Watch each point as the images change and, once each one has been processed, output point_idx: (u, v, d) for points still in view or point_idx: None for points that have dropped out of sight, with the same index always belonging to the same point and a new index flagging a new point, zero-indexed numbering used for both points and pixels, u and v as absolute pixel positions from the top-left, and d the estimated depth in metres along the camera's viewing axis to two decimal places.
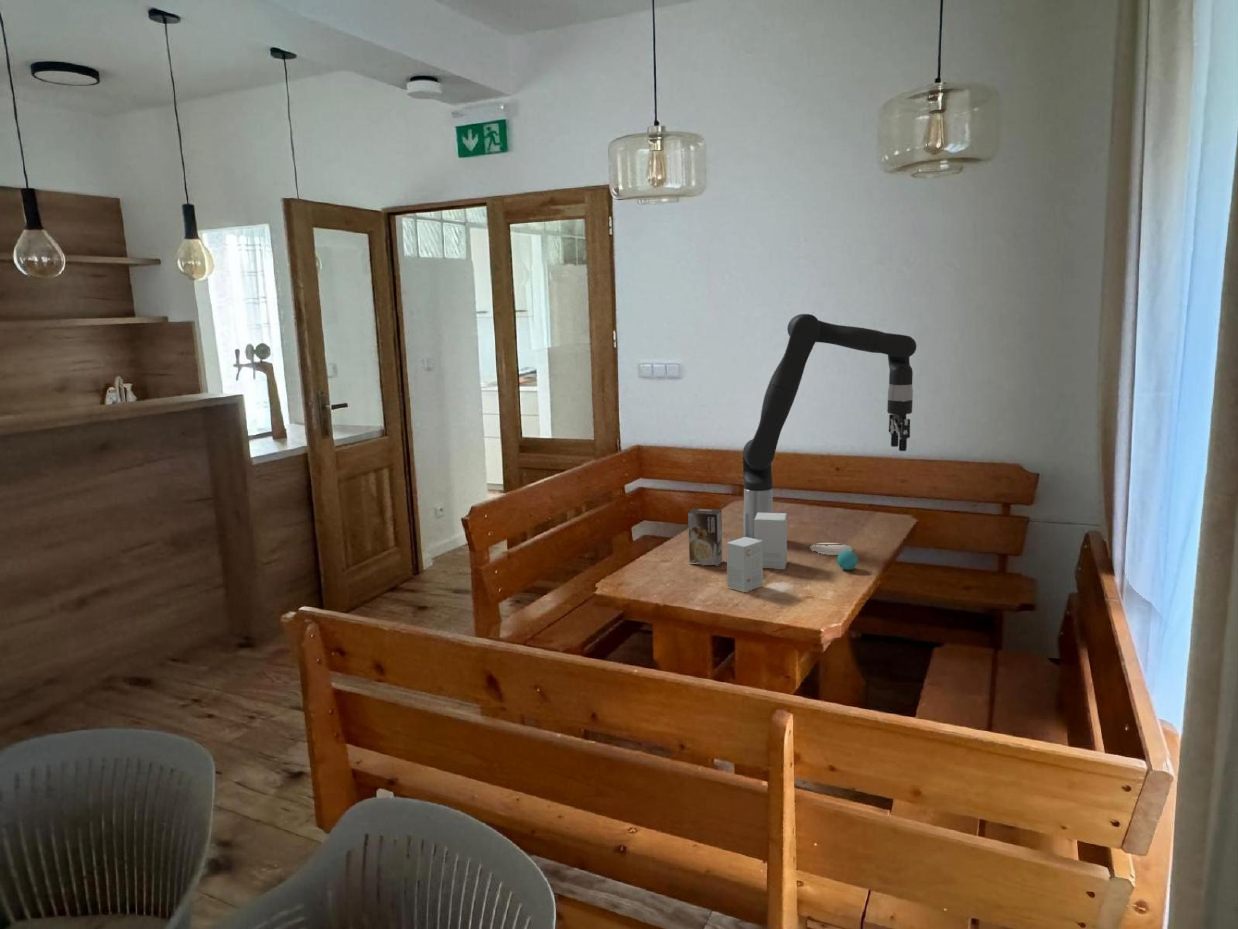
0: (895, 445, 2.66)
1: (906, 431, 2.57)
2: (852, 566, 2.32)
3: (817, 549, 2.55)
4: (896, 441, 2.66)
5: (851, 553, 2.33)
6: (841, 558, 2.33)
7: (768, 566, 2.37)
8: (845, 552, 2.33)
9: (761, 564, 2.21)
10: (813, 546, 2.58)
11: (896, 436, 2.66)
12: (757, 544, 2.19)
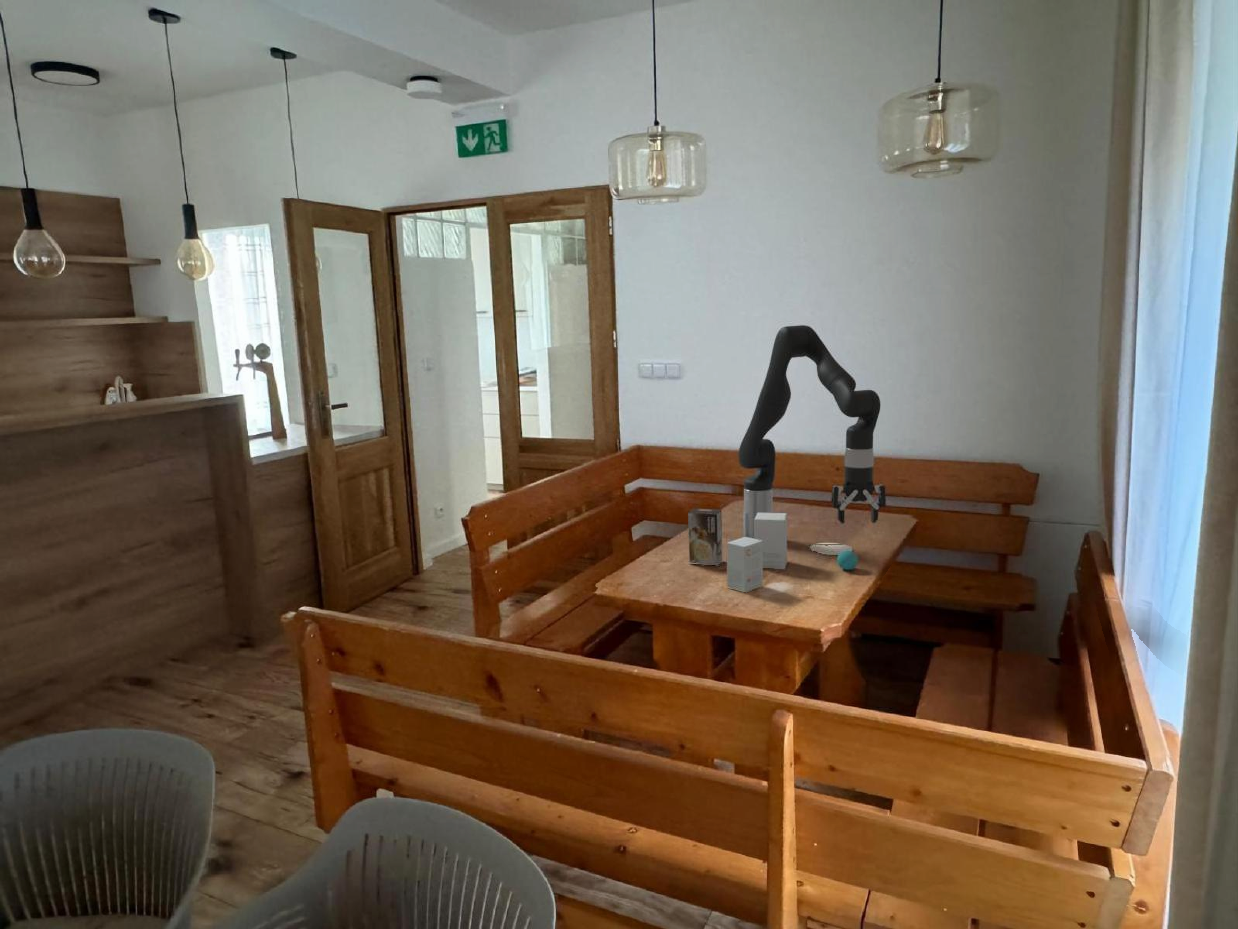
0: None
1: None
2: (852, 566, 2.32)
3: (817, 549, 2.55)
4: None
5: (851, 553, 2.33)
6: (841, 558, 2.33)
7: (768, 566, 2.37)
8: (845, 552, 2.33)
9: (761, 564, 2.21)
10: (813, 546, 2.58)
11: None
12: (757, 544, 2.19)
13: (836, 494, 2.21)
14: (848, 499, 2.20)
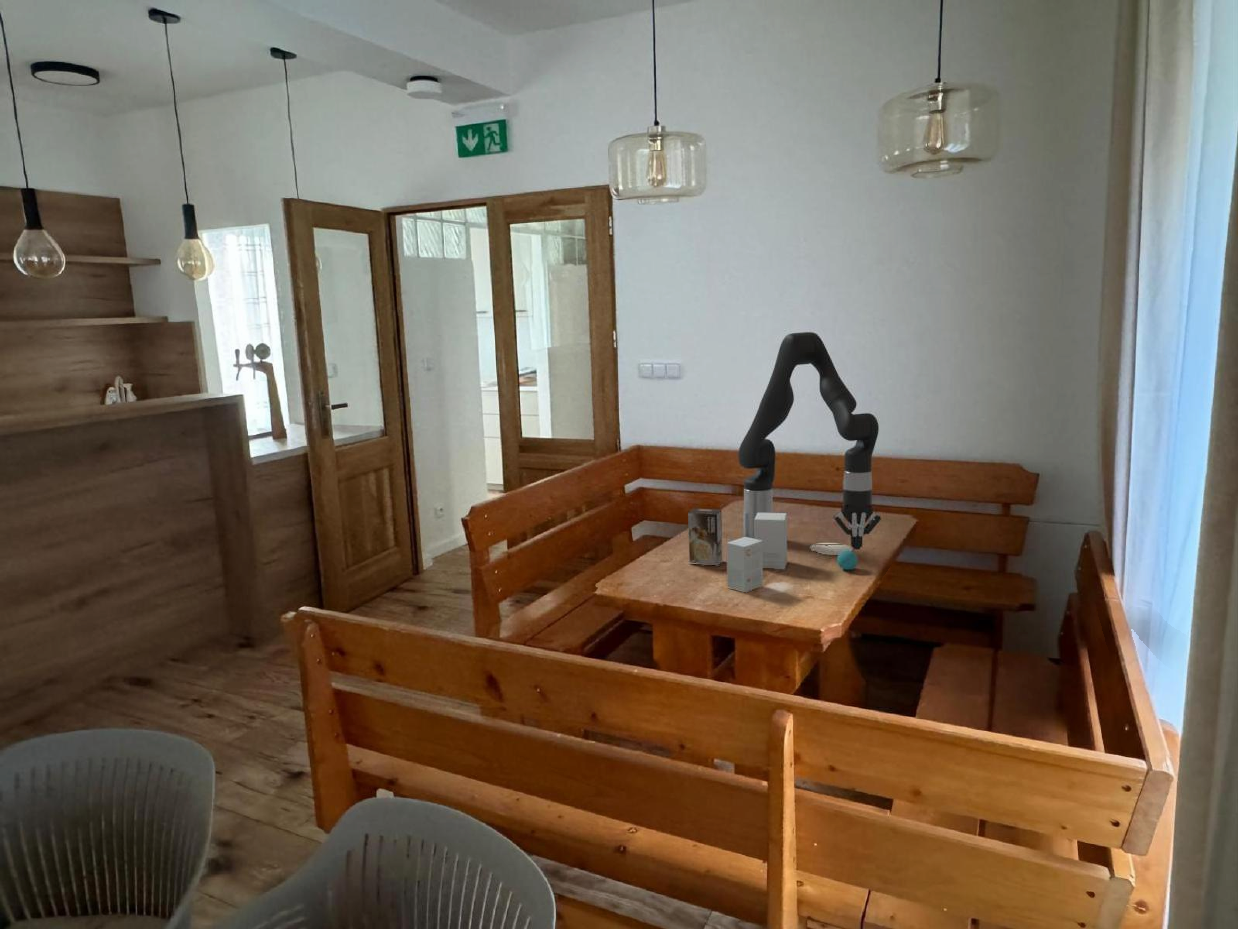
0: None
1: None
2: (852, 566, 2.32)
3: (817, 549, 2.55)
4: None
5: (851, 553, 2.33)
6: (841, 558, 2.33)
7: (768, 566, 2.37)
8: (845, 552, 2.33)
9: (761, 564, 2.21)
10: (813, 546, 2.58)
11: None
12: (757, 544, 2.19)
13: (841, 523, 2.22)
14: (853, 524, 2.21)
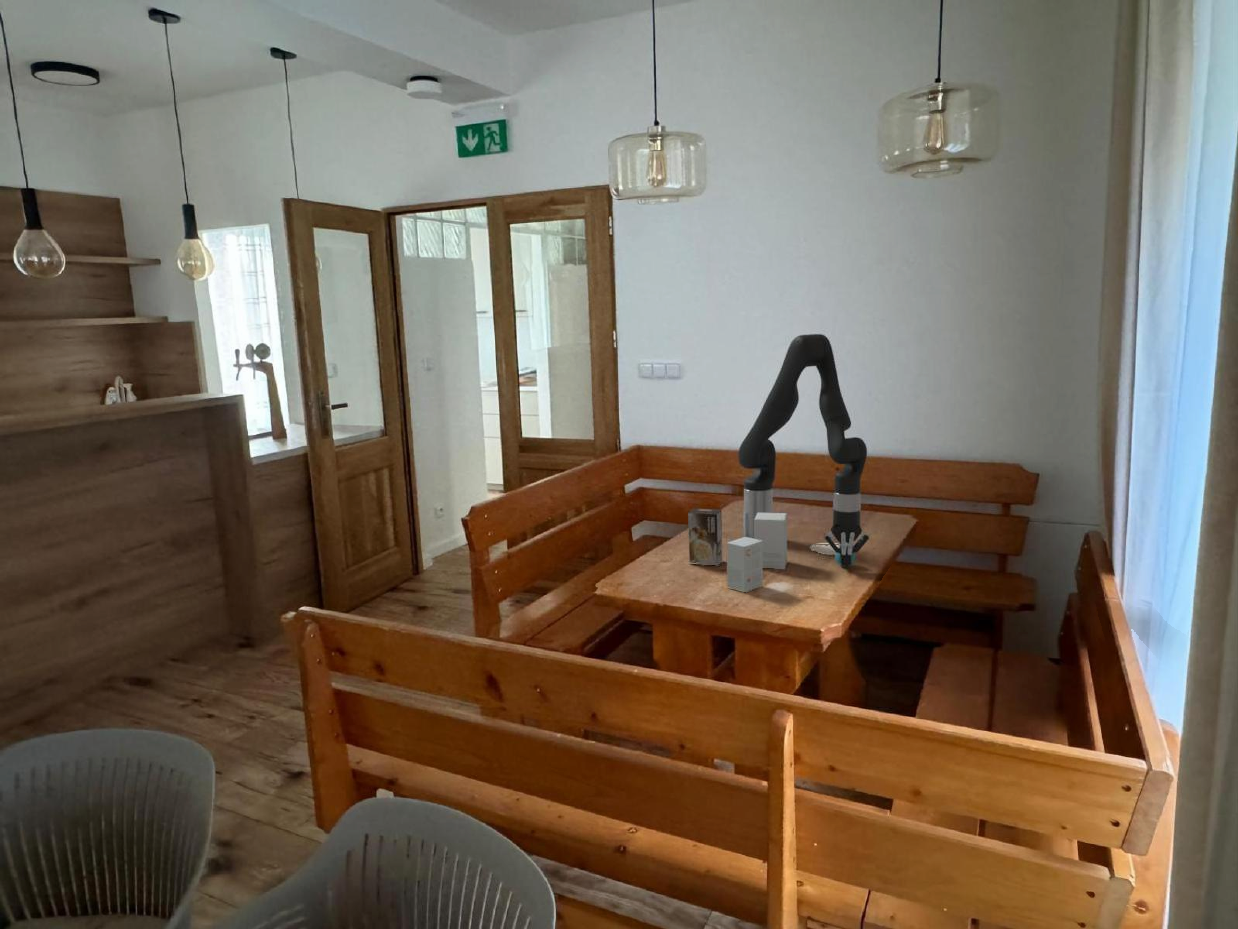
0: None
1: None
2: None
3: (817, 549, 2.55)
4: None
5: None
6: None
7: (768, 566, 2.37)
8: None
9: (761, 564, 2.21)
10: (813, 546, 2.58)
11: None
12: (757, 544, 2.19)
13: (830, 542, 2.32)
14: (842, 543, 2.31)
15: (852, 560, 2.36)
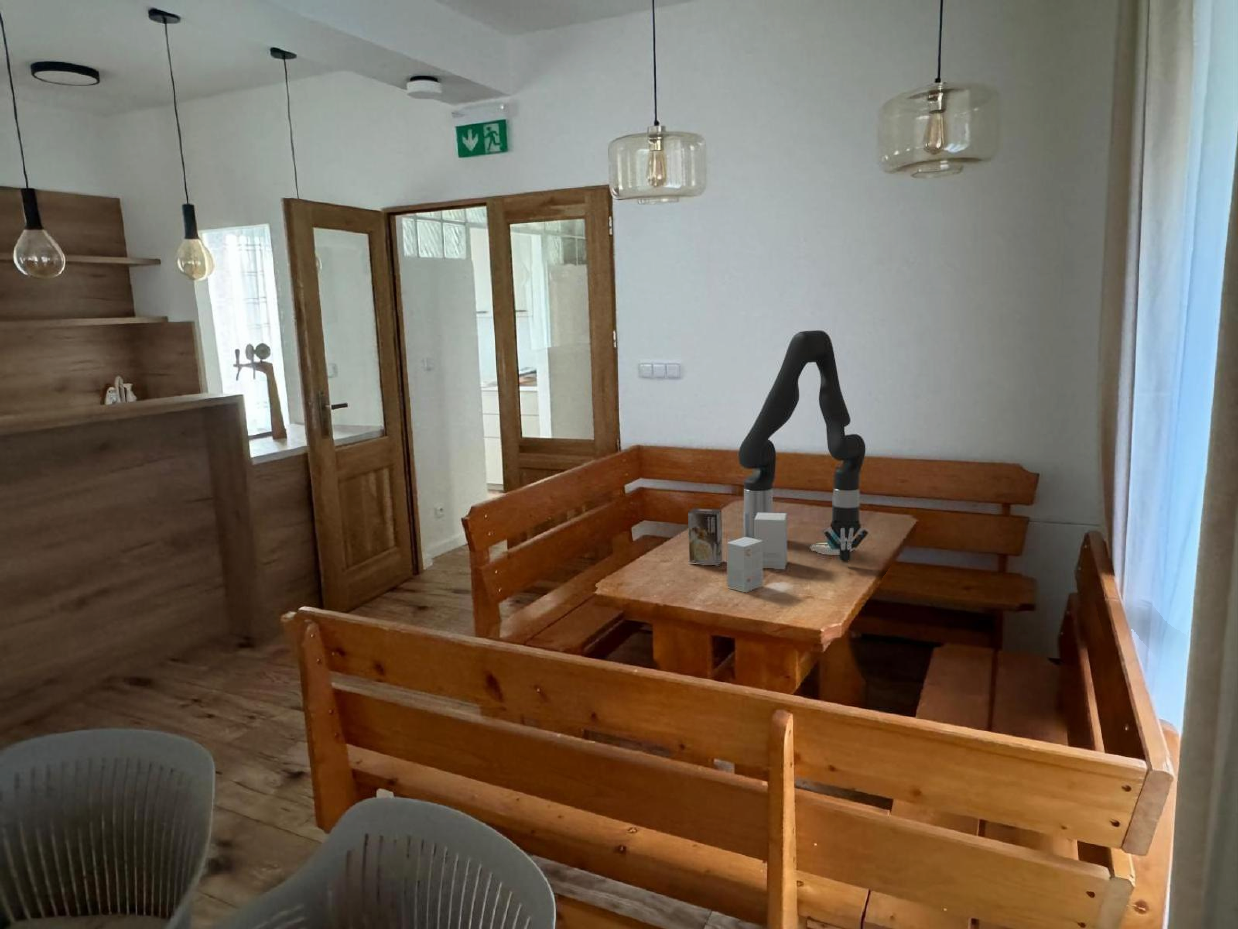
0: None
1: None
2: None
3: (817, 549, 2.55)
4: None
5: None
6: None
7: (768, 566, 2.37)
8: None
9: (761, 564, 2.21)
10: (813, 546, 2.58)
11: None
12: (757, 544, 2.19)
13: (830, 537, 2.35)
14: (842, 538, 2.35)
15: None
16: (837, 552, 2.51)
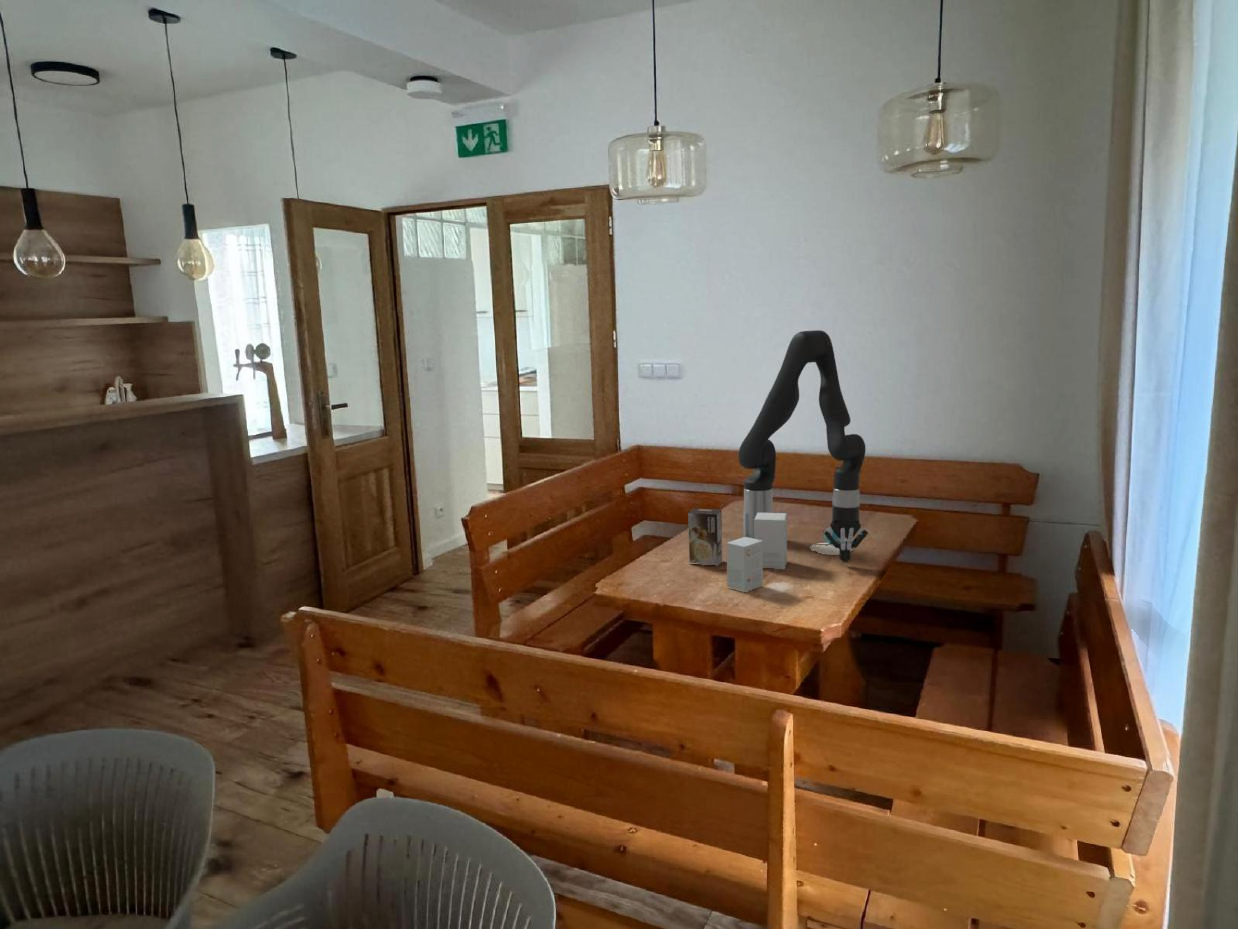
0: None
1: None
2: None
3: (817, 549, 2.55)
4: None
5: None
6: None
7: (768, 566, 2.37)
8: None
9: (761, 564, 2.21)
10: (813, 546, 2.58)
11: None
12: (757, 544, 2.19)
13: (830, 537, 2.35)
14: (842, 538, 2.35)
15: None
16: (837, 552, 2.51)
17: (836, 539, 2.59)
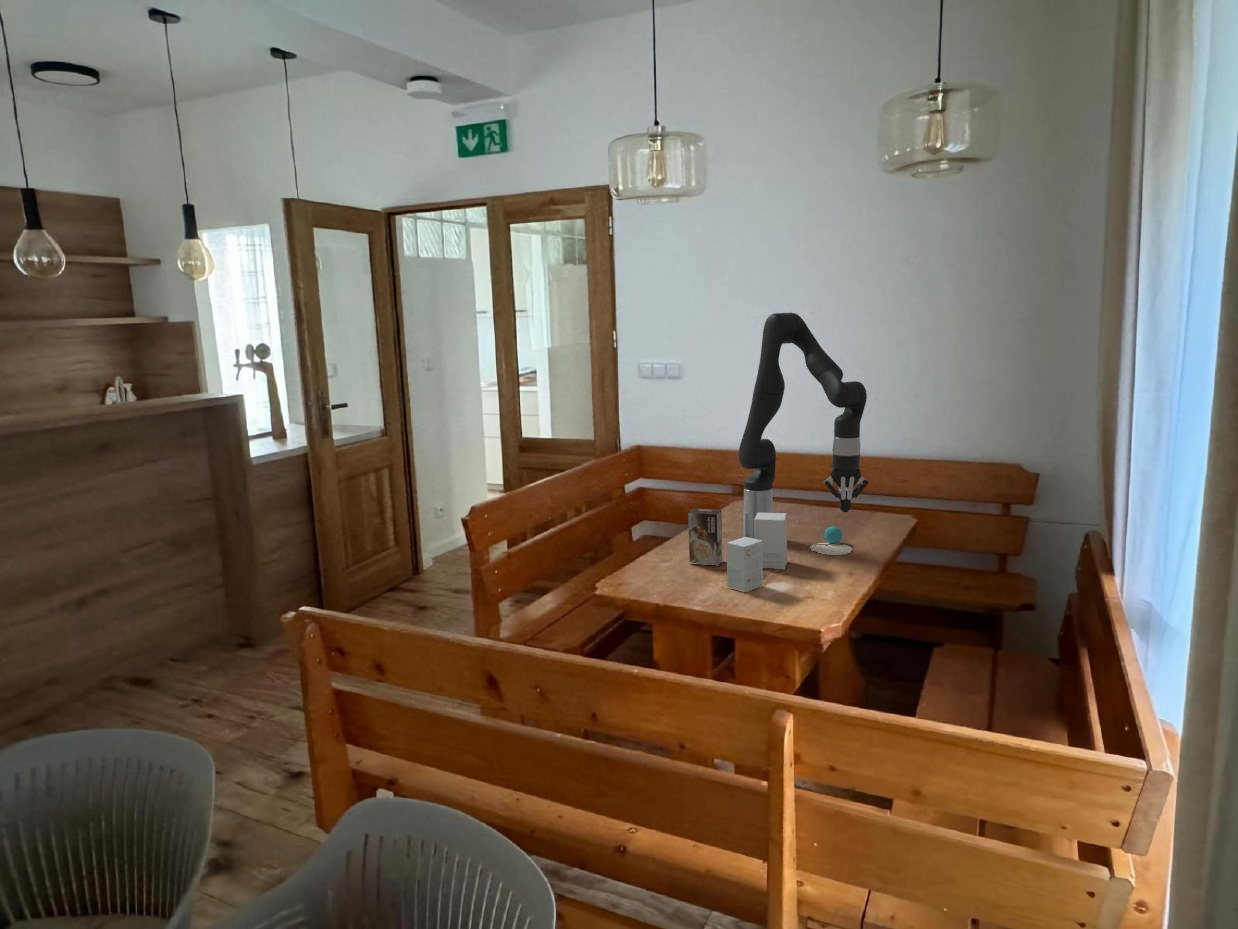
0: None
1: None
2: None
3: (817, 549, 2.55)
4: None
5: None
6: None
7: (768, 566, 2.37)
8: None
9: (761, 564, 2.21)
10: (813, 546, 2.58)
11: None
12: (757, 544, 2.19)
13: (830, 486, 2.32)
14: (842, 488, 2.31)
15: None
16: (837, 552, 2.51)
17: (836, 539, 2.59)
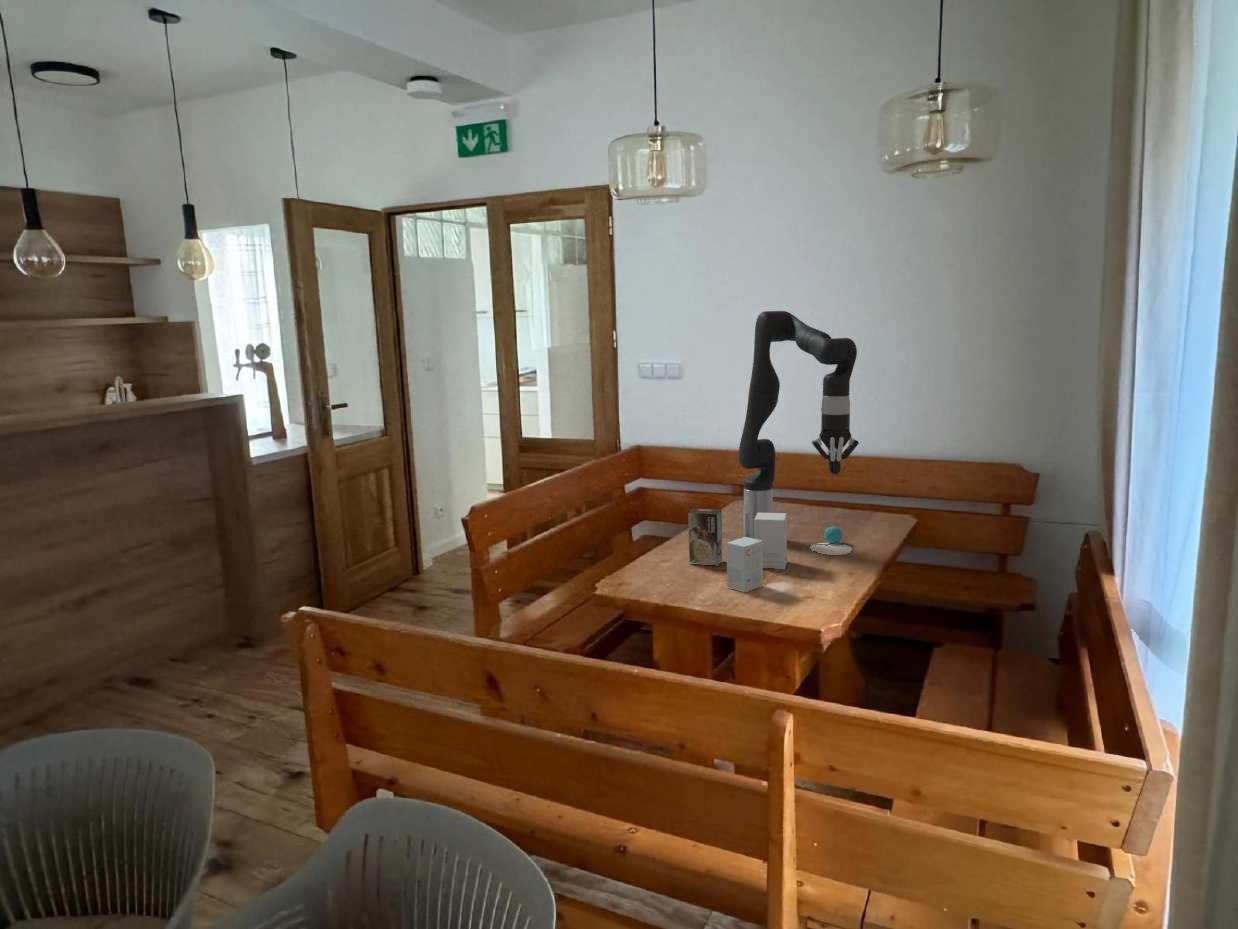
0: None
1: None
2: None
3: (817, 549, 2.55)
4: None
5: None
6: None
7: (768, 566, 2.37)
8: None
9: (761, 564, 2.21)
10: (813, 546, 2.58)
11: None
12: (757, 544, 2.19)
13: (819, 447, 2.24)
14: (831, 448, 2.23)
15: None
16: (837, 552, 2.51)
17: (836, 539, 2.59)
